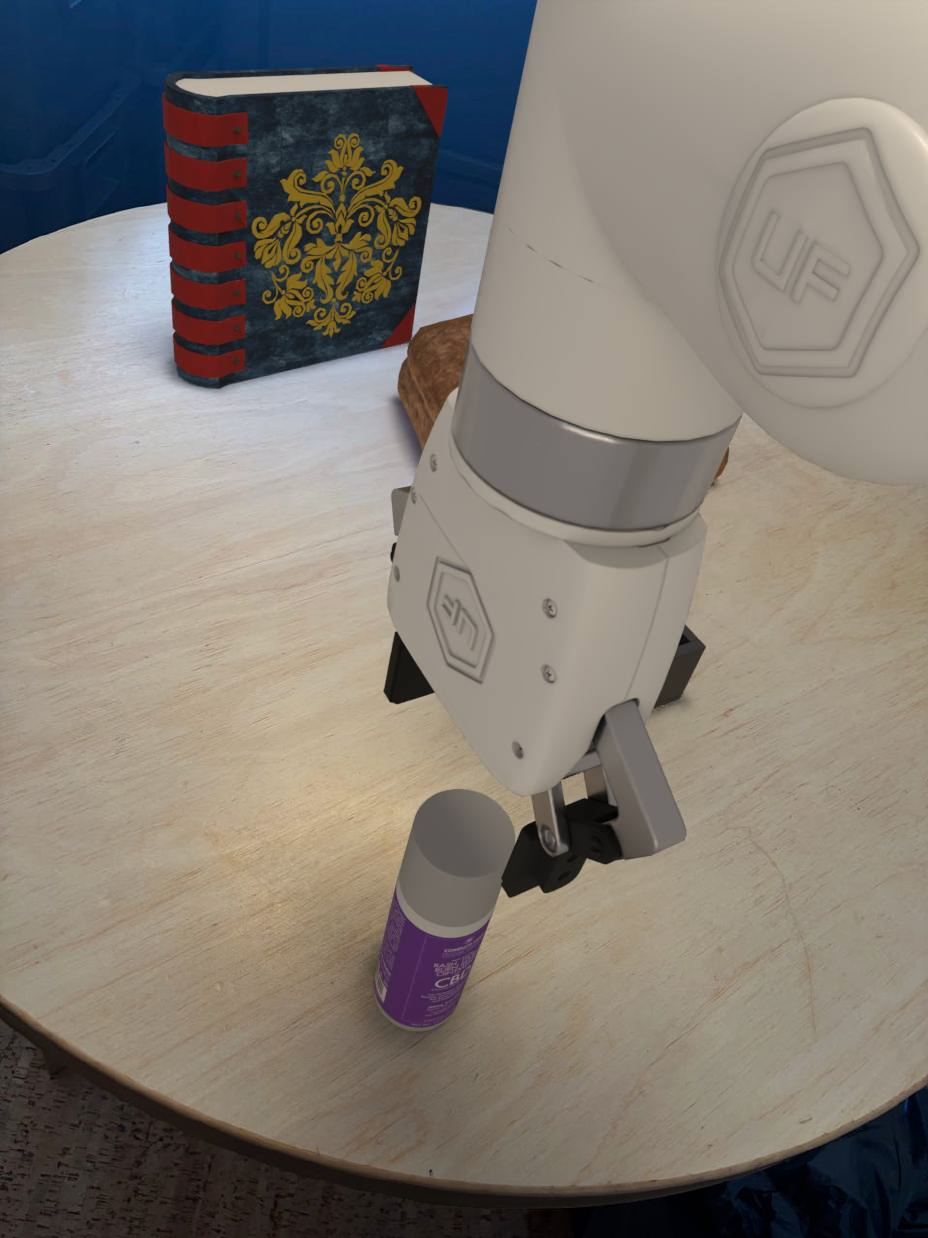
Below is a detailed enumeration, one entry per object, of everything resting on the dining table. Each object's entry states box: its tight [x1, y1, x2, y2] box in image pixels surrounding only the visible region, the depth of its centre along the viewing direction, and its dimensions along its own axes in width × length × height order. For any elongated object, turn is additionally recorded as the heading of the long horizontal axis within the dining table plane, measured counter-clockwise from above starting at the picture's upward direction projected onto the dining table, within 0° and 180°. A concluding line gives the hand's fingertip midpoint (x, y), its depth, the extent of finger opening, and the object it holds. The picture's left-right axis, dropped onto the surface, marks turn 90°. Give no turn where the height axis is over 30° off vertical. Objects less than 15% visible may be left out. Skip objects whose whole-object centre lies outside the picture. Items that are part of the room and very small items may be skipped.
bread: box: [397, 312, 730, 483], centre depth 87 cm, size 17×29×12 cm, turn 106°
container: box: [372, 788, 516, 1032], centre depth 45 cm, size 5×5×15 cm
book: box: [161, 63, 449, 389], centre depth 86 cm, size 25×7×25 cm, turn 129°
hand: (474, 777), depth 38 cm, fingers open, 9 cm apart
